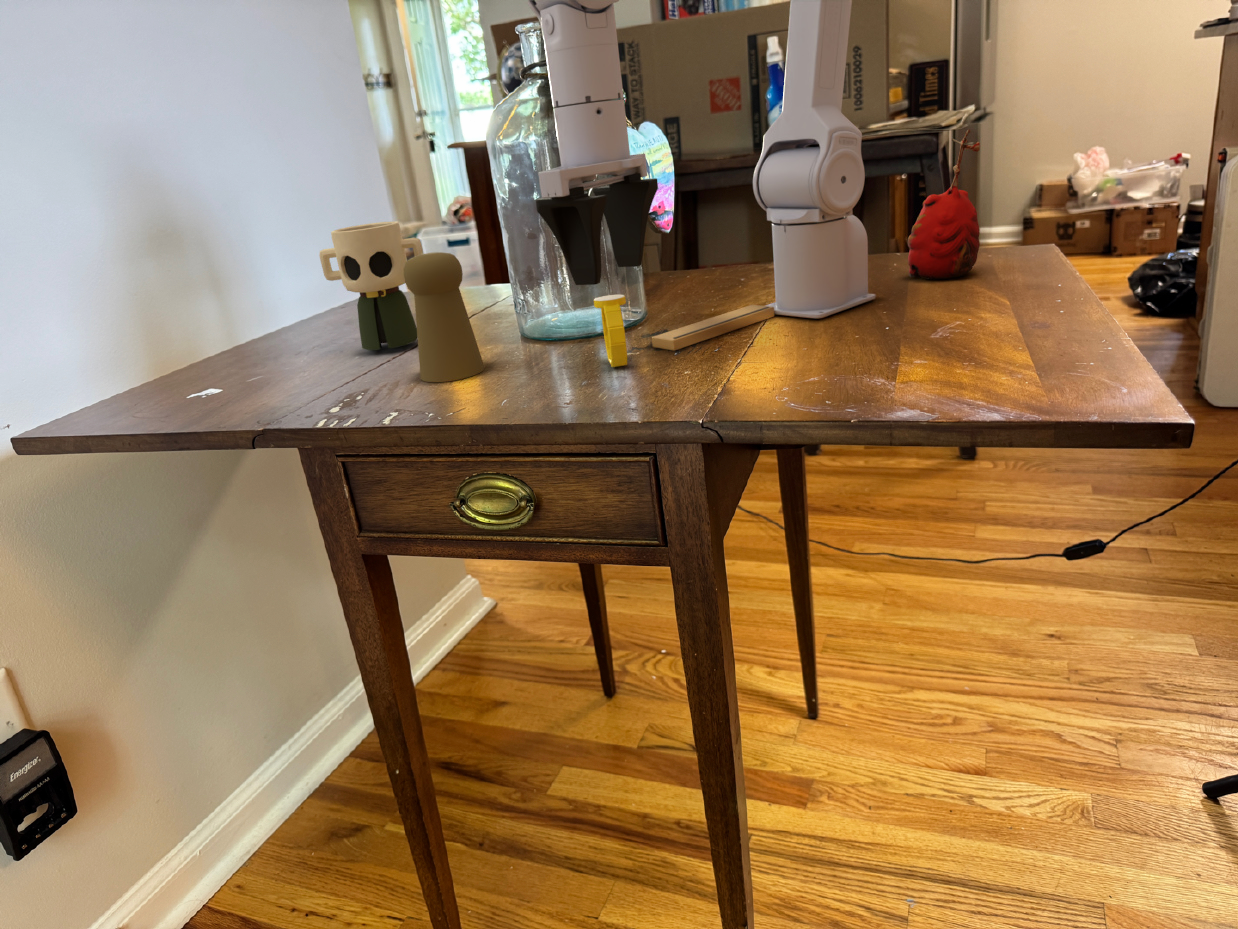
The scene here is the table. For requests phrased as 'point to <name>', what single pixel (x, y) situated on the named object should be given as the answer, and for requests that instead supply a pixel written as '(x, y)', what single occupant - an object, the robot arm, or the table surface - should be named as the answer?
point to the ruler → (712, 327)
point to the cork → (442, 319)
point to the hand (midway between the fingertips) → (609, 274)
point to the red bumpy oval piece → (945, 231)
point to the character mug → (375, 280)
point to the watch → (613, 328)
